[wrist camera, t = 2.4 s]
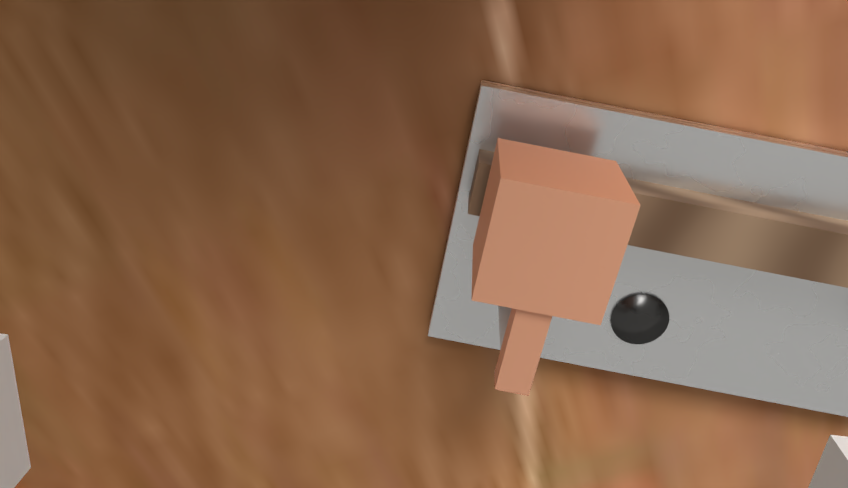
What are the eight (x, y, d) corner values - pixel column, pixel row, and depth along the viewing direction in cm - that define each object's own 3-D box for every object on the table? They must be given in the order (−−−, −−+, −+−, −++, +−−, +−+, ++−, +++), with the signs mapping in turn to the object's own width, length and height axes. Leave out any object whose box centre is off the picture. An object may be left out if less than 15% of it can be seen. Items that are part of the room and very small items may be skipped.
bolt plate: (429, 323, 38) (427, 337, 36) (481, 79, 32) (481, 86, 31) (985, 431, 38) (1002, 448, 37) (1131, 207, 32) (1157, 218, 31)
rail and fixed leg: (446, 295, 35) (440, 364, 30) (485, 121, 32) (486, 163, 26) (1016, 405, 36) (1113, 493, 30) (1123, 246, 32) (1255, 313, 26)
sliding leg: (456, 301, 35) (451, 385, 29) (496, 125, 31) (500, 177, 25) (556, 320, 35) (572, 408, 29) (608, 147, 31) (640, 205, 25)
